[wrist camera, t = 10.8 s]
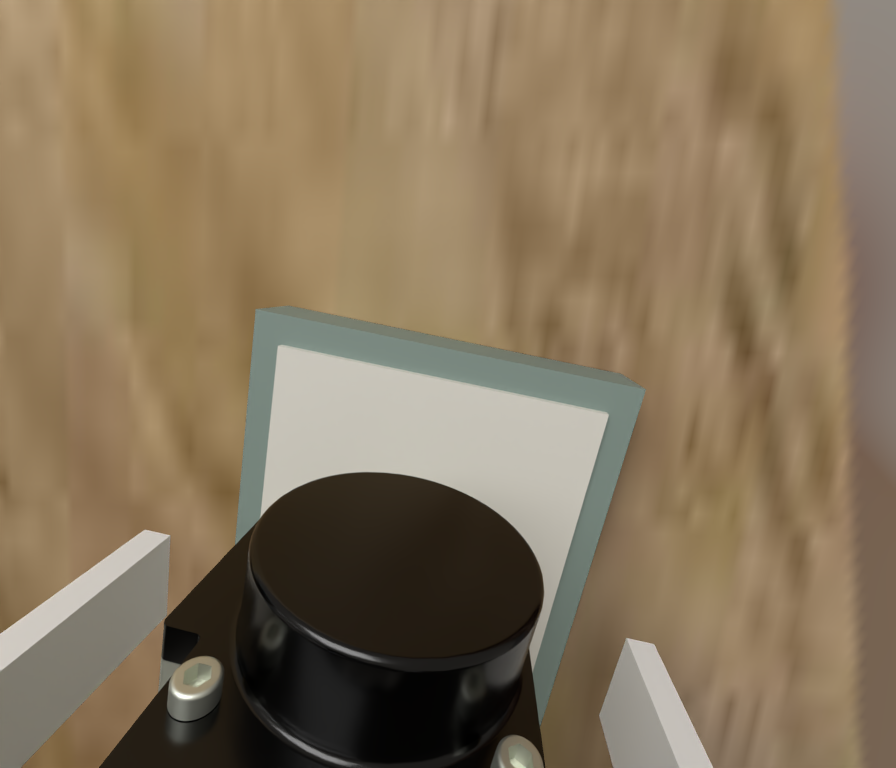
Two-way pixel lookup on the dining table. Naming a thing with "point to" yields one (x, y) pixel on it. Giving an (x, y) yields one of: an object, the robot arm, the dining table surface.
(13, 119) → the dining table surface
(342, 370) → the stand
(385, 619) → the pneumatic valve
